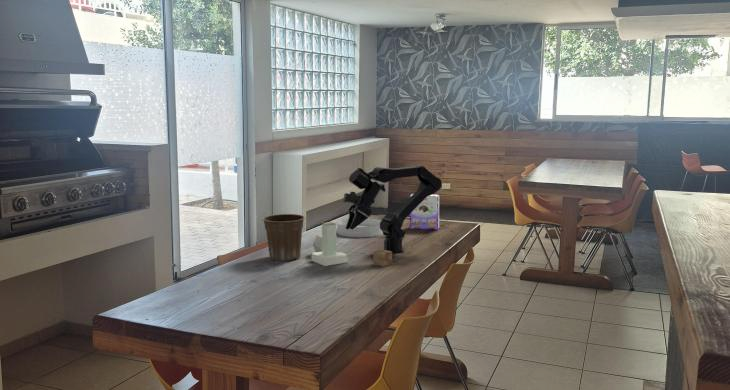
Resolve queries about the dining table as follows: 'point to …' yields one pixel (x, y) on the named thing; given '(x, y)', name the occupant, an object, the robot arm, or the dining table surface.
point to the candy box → (426, 214)
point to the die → (318, 243)
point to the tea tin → (329, 238)
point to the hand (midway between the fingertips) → (348, 229)
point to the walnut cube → (382, 257)
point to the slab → (329, 258)
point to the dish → (360, 228)
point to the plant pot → (284, 236)
